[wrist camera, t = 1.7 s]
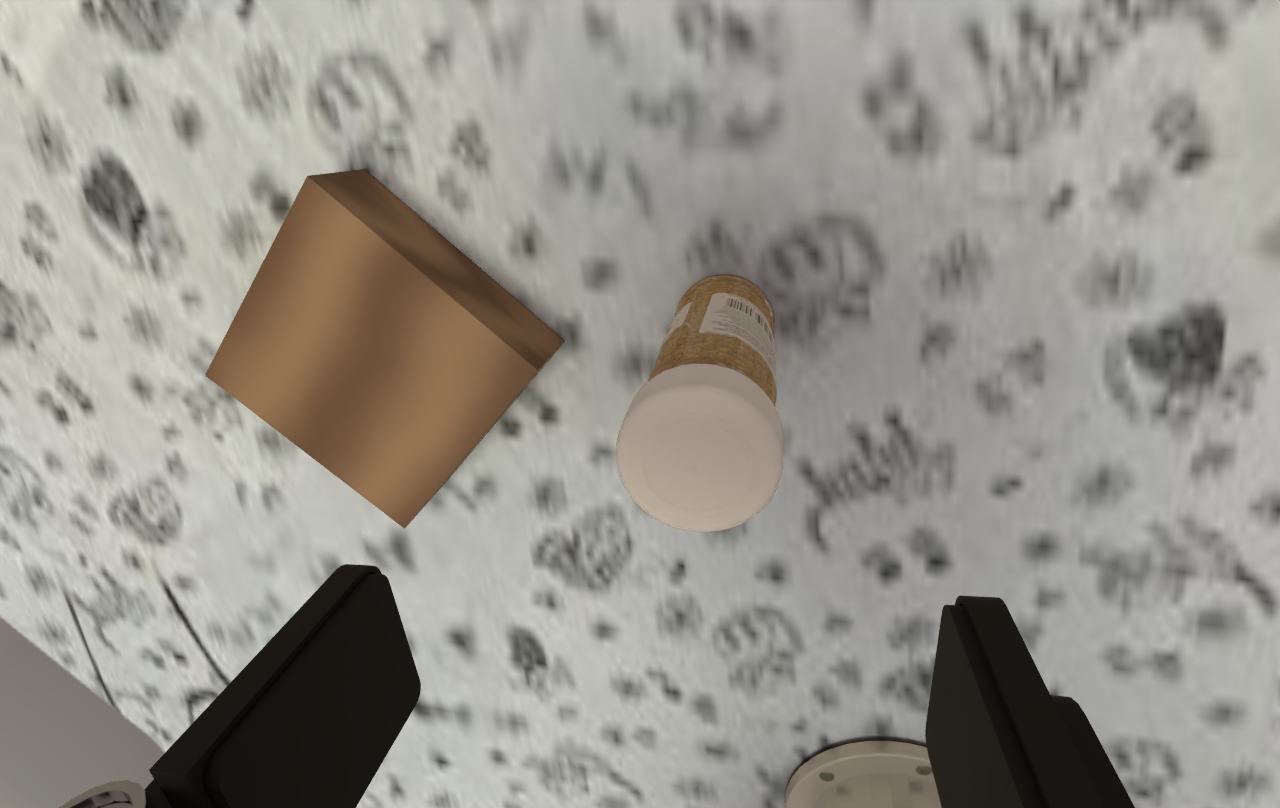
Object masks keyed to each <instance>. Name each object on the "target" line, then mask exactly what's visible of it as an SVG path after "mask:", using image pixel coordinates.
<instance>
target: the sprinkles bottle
mask: <svg viewBox="0 0 1280 808" xmlns="http://www.w3.org/2000/svg"><path fill="white" fill-rule="evenodd" d="M773 332H774V315H773V310H772V307H771V305H770V303H769V302H768V300H767V297H766V296H765V295H764V294H763V293H762V292H761V290H760V289H759V288H758V287H757V286H756V285H754V284H753V283H750V282H749V281H747V280H746V279H743V278H741V277H735V276H728V275H721V276H713V277H708V278H705V279H703V280H701V281H699V282H698V283H696V284H695V285H694V286H692V287H691V288H690V289H689V290H688V292H687V293H686V294H685V295H684V296H683V298H682V299H681V300H680V302H679V304H678V307H677V310H676V314H675V318H674V319H673V321H672V323H671V325H670V328H669V330H668V332H667V334H666V337H665V339H664V341H663V344H662V346H661V349H660V353H659V357H658V359H657V361H656V364H655V367H654V369H653V371H652V372H651V375H650V378H649V380H648V382H647V383H646V384H645V385H644V386H643V387H642V388H641V389H640V390H639V392H638V393H637V395H636V396H635V397H634V399H633V401H632V403H631V405H630V407H629V409H628V411H627V413H626V416H625V418H624V421H623V423H622V426H621V429H620V431H619V435H618V439H617V444H616V462H617V467H618V472H619V475H620V478H621V480H622V483H623V485H624V487H625V489H626V490H627V492H628V493H629V495H630V496H631V498H632V499H633V500H634V501H635V502H636V503H637V504H638V506H640V507H641V508H642V509H643V510H644V511H645V512H647V513H648V514H649V515H651V516H652V517H654V518H655V519H657V520H659V521H661V522H663V523H665V524H667V525H669V526H672V527H675V528H679V529H683V530H688V531H695V532H712V531H720V530H725V529H729V528H732V527H735V526H737V525H739V524H742V523H744V522H746V521H747V520H749V519H751V518H752V517H754V516H755V515H756V514H758V513H759V512H760V511H761V510H762V509H763V508H764V507H765V506H766V505H767V503H768V502H769V501H770V500H771V498H772V496H773V495H774V493H775V491H776V489H777V487H778V484H779V481H780V477H781V473H782V466H783V437H782V428H781V422H780V419H779V416H778V413H777V410H776V408H775V403H776V395H777V390H776V367H775V349H774V339H773Z"/></svg>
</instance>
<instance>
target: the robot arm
mask: <svg viewBox="0 0 1280 808" xmlns="http://www.w3.org/2000/svg"><path fill="white" fill-rule="evenodd" d="M420 690H421V684H420V679H419V676H418V673H417V670H416V666H415V663H414V660H413V657H412V654H411V650H410V647H409V644H408V641H407V638H406V634H405V631H404V628H403V625H402V622H401V618H400V615H399V612H398V609H397V606H396V602H395V599H394V596H393V593H392V590H391V586H390V583H389V580H388V578H387V577H386V576H385V575H382V574H381V572H380V570H379V569H378V568H377V567H376V566H368V565H348V564H345V565H342V566H340V567H339V568H338V569H337V570H336V571H335V572H334V573H333V574H332V575H331V576H330V577H329V578H328V579H327V580H326V581H325V582H324V583H323V584H322V586H321V587H320V588H319V589H318V590H317V591H316V592H315V593H314V594H313V595H312V596H311V597H310V598H309V599H308V601H307V602H306V603H305V604H304V605H303V606H302V607H301V608H300V609H299V610H298V611H297V612H296V613H295V614H294V616H293V617H292V618H291V619H290V620H289V621H288V622H287V623H286V624H285V625H284V626H283V627H282V628H281V629H280V631H279V632H278V633H277V634H276V635H275V636H274V637H273V638H272V639H271V640H270V641H269V642H268V643H267V644H266V646H265V647H264V648H263V649H262V650H261V651H260V652H259V653H258V654H257V655H256V656H255V657H254V658H253V659H252V661H251V662H250V663H249V664H248V665H247V666H246V667H245V668H244V669H243V670H242V671H241V672H240V673H239V674H238V676H237V677H236V678H235V679H234V680H233V681H232V682H231V683H230V684H229V685H228V686H227V687H226V688H225V689H224V691H223V692H222V693H221V694H220V695H219V696H218V697H217V698H216V699H215V700H214V701H213V702H212V703H211V704H210V706H209V707H208V708H207V709H206V710H205V711H204V712H203V713H202V714H201V715H200V716H199V717H198V718H197V719H196V720H195V722H194V723H193V724H192V725H191V726H190V727H189V728H188V729H187V730H186V731H185V732H184V733H183V734H182V735H181V737H180V738H179V739H178V740H177V741H176V742H175V743H174V744H173V745H172V746H171V747H170V748H169V749H168V750H167V752H166V753H165V754H164V755H163V756H162V757H161V758H160V759H159V760H158V761H157V762H156V763H155V764H154V765H153V767H152V768H151V769H150V770H149V771H150V773H151V774H152V776H153V777H154V780H153V781H152V782H151V783H150V784H149V785H148V787H147V788H146V789H145V790H144V789H143V788H142V787H141V786H140V785H139V784H138V783H135V782H131V781H127V780H125V781H115V782H109V783H107V784H104V785H100V786H98V787H95V788H92V789H90V790H88V791H86V792H84V793H82V794H81V795H79V796H77V797H75V798H73V799H71V800H70V801H68V802H67V803H65V804H64V805H63V806H61V807H60V808H356V806H357V804H358V803H359V801H360V799H361V797H362V796H363V794H364V792H365V791H366V789H367V787H368V786H369V784H370V782H371V780H372V779H373V777H374V775H375V774H376V772H377V770H378V769H379V767H380V765H381V763H382V762H383V760H384V758H385V757H386V755H387V753H388V751H389V750H390V748H391V746H392V745H393V743H394V741H395V740H396V738H397V736H398V734H399V733H400V731H401V729H402V728H403V726H404V724H405V722H406V721H407V719H408V717H409V716H410V714H411V712H412V711H413V709H414V707H415V705H416V703H417V701H418V699H419V695H420ZM926 745H927V747H923V746H919V745H915V744H911V743H904V742H895V741H863V742H856V743H849V744H845V745H841V746H838V747H835V748H831V749H829V750H826V751H824V752H822V753H820V754H818V755H816V756H814V757H812V758H811V759H810V760H809V761H807V762H806V763H805V764H803V765H802V766H801V767H800V768H799V769H798V770H797V771H796V773H795V774H794V775H793V776H792V778H791V780H790V782H789V784H788V786H787V789H786V795H785V808H1135V807H1134V805H1133V803H1132V801H1131V799H1130V798H1129V796H1128V794H1127V792H1126V790H1125V788H1124V786H1123V784H1122V783H1121V781H1120V779H1119V777H1118V775H1117V773H1116V771H1115V770H1114V768H1113V766H1112V764H1111V762H1110V760H1109V758H1108V756H1107V755H1106V753H1105V751H1104V749H1103V747H1102V745H1101V743H1100V741H1099V740H1098V738H1097V736H1096V734H1095V732H1094V730H1093V728H1092V726H1091V725H1090V723H1089V721H1088V719H1087V717H1086V715H1085V714H1084V712H1083V711H1082V709H1081V707H1080V706H1079V704H1078V703H1077V702H1075V701H1074V700H1073V699H1072V698H1070V697H1064V696H1051V695H1050V694H1049V692H1048V690H1047V688H1046V686H1045V684H1044V682H1043V680H1042V678H1041V676H1040V673H1039V671H1038V669H1037V667H1036V665H1035V663H1034V661H1033V659H1032V657H1031V655H1030V653H1029V651H1028V649H1027V647H1026V645H1025V643H1024V641H1023V639H1022V637H1021V635H1020V633H1019V631H1018V629H1017V627H1016V625H1015V623H1014V621H1013V619H1012V617H1011V614H1010V612H1009V610H1008V608H1007V606H1006V605H1005V603H1004V601H1003V600H1002V599H1000V598H994V597H974V596H958V598H957V599H956V603H955V605H944V607H943V610H942V617H941V624H940V631H939V638H938V645H937V652H936V659H935V666H934V673H933V680H932V687H931V694H930V701H929V708H928V714H927V721H926Z"/></svg>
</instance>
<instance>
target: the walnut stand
mask: <svg viewBox="0 0 1280 808" xmlns="http://www.w3.org/2000/svg"><path fill="white" fill-rule="evenodd" d="M564 342H565V341H564V340H563V339H562V338H560V337H559V336H558V335H557V334H556V333H555V332H553V331H552V330H551V329H550V328H549V327H548V326H546V325H545V324H544V323H543V322H542V321H541V320H539V319H538V318H537V317H536V316H535V315H534V314H533V313H531V312H530V311H529V310H528V309H527V308H526V307H524V306H523V305H522V304H521V303H520V302H519V301H517V300H516V299H515V298H514V297H513V296H512V295H510V294H509V293H508V292H507V291H506V290H505V289H503V288H502V287H501V286H500V285H499V284H498V283H496V282H495V281H494V280H493V279H492V278H491V277H489V276H488V275H487V274H486V273H485V272H484V271H482V270H481V269H480V268H479V267H478V266H477V265H475V264H474V263H473V262H472V261H471V260H470V259H468V258H467V257H466V256H465V255H464V254H463V253H461V252H460V251H459V250H458V249H457V248H456V247H454V246H453V245H452V244H451V243H450V242H449V241H447V240H446V239H445V238H444V237H443V236H442V235H440V234H439V233H438V232H437V231H436V230H435V229H433V228H432V227H431V226H430V225H429V224H428V223H426V222H425V221H424V220H423V219H422V218H421V217H419V216H418V215H417V214H416V213H415V212H414V211H412V210H411V209H410V208H409V207H408V206H407V205H405V204H404V203H403V202H402V201H401V200H400V199H398V198H397V197H396V196H395V195H394V194H393V193H391V192H390V191H389V190H388V189H387V188H386V187H385V186H383V185H382V184H381V183H380V182H379V181H378V180H376V179H375V178H374V177H373V176H372V175H371V174H369V173H368V172H367V171H366V170H365V169H363V170H355V171H346V172H338V173H329V174H320V175H312V176H307V178H306V180H305V182H304V184H303V186H302V188H301V189H300V191H299V193H298V195H297V197H296V199H295V201H294V203H293V205H292V207H291V209H290V211H289V213H288V215H287V217H286V219H285V221H284V223H283V224H282V226H281V228H280V230H279V232H278V234H277V236H276V238H275V240H274V242H273V244H272V246H271V248H270V250H269V252H268V254H267V256H266V258H265V260H264V261H263V263H262V265H261V267H260V269H259V271H258V273H257V275H256V277H255V279H254V281H253V283H252V285H251V287H250V289H249V291H248V293H247V295H246V297H245V298H244V300H243V302H242V304H241V306H240V308H239V310H238V312H237V314H236V316H235V318H234V320H233V322H232V324H231V326H230V328H229V330H228V332H227V334H226V335H225V337H224V339H223V341H222V343H221V345H220V347H219V349H218V351H217V353H216V355H215V357H214V359H213V361H212V363H211V365H210V367H209V369H208V371H207V372H206V374H205V375H206V376H207V377H208V378H210V379H211V380H212V381H213V382H215V383H216V384H217V385H219V386H220V387H221V388H223V389H224V390H225V391H226V392H228V393H229V394H230V395H232V396H233V397H234V398H236V399H237V400H238V401H239V402H241V403H242V404H243V405H245V406H246V407H247V408H249V409H250V410H251V411H252V412H254V413H255V414H256V415H258V416H259V417H260V418H262V419H263V420H264V421H265V422H267V423H268V424H269V425H271V426H272V427H273V428H275V429H276V430H277V431H278V432H280V433H281V434H282V435H284V436H285V437H286V438H288V439H289V440H290V441H291V442H293V443H294V444H295V445H297V446H298V447H299V448H301V449H302V450H303V451H304V452H306V453H307V454H308V455H310V456H311V457H312V458H314V459H315V460H316V461H317V462H319V463H320V464H321V465H323V466H324V467H325V468H327V469H328V470H329V471H330V472H332V473H333V474H334V475H336V476H337V477H338V478H340V479H341V480H342V481H343V482H345V483H346V484H347V485H349V486H350V487H351V488H353V489H354V490H355V491H356V492H358V493H359V494H360V495H362V496H363V497H364V498H366V499H367V500H368V501H369V502H371V503H372V504H373V505H375V506H376V507H377V508H379V509H380V510H381V511H382V512H384V513H385V514H386V515H388V516H389V517H390V518H392V519H393V520H394V521H395V522H397V523H398V524H399V525H401V526H402V527H403V528H406V526H407V525H408V524H409V523H410V522H411V521H412V520H413V519H414V517H415V516H416V515H417V514H418V513H419V512H420V511H421V510H422V508H423V507H424V506H425V505H426V504H427V503H428V502H429V501H430V499H431V498H432V497H433V496H434V495H435V494H436V493H437V492H438V491H439V489H440V488H441V487H442V486H443V485H444V484H445V482H446V481H447V480H448V479H449V478H450V476H451V475H452V474H453V473H454V472H455V471H456V469H457V468H458V467H459V466H460V465H461V463H462V462H463V461H464V460H465V459H466V458H467V456H468V455H469V454H470V453H471V452H472V450H473V449H474V448H475V447H476V446H477V445H478V443H479V442H480V441H481V440H482V439H483V437H484V436H485V435H486V434H487V433H488V432H489V430H490V429H491V428H492V427H493V426H494V424H495V423H496V422H497V421H498V420H499V419H500V417H501V416H502V415H503V414H504V413H505V411H506V410H507V409H508V408H509V407H510V405H511V404H512V403H513V402H514V401H515V400H516V398H517V397H518V396H519V395H520V394H521V392H522V391H523V390H524V389H525V388H526V387H527V385H528V384H529V383H530V382H531V381H532V379H533V378H534V377H535V376H536V375H537V374H538V372H539V371H540V370H541V369H542V368H543V366H544V365H545V364H546V363H547V362H548V361H549V359H550V358H551V357H552V356H553V355H554V353H555V352H556V351H557V350H558V349H559V347H560V346H561V345H562V344H563V343H564Z"/></svg>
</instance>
